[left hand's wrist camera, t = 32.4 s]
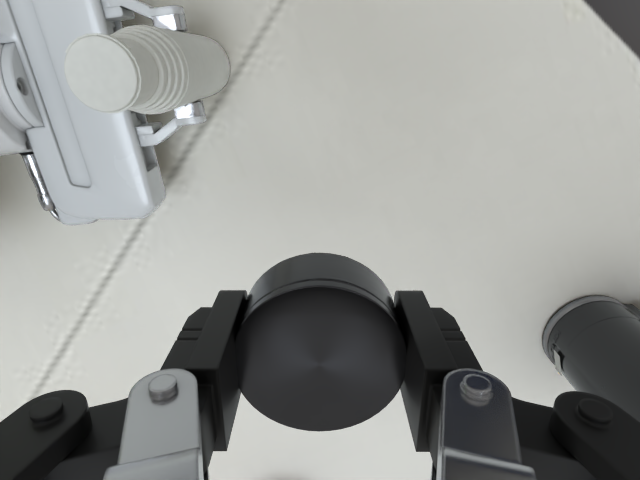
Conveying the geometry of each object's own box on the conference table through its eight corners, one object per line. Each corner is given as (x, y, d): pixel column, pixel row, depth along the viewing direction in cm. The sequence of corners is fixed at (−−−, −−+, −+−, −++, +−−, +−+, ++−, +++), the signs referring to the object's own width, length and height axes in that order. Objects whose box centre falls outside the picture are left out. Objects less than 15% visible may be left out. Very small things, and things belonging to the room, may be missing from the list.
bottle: (241, 64, 35) (175, 70, 19) (208, 107, 37) (118, 150, 20) (195, 22, 34) (79, -12, 17) (162, 69, 36) (25, 79, 19)
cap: (364, 228, 11) (372, 258, 10) (414, 354, 13) (430, 402, 11) (217, 284, 12) (199, 323, 10) (281, 398, 13) (276, 450, 12)
